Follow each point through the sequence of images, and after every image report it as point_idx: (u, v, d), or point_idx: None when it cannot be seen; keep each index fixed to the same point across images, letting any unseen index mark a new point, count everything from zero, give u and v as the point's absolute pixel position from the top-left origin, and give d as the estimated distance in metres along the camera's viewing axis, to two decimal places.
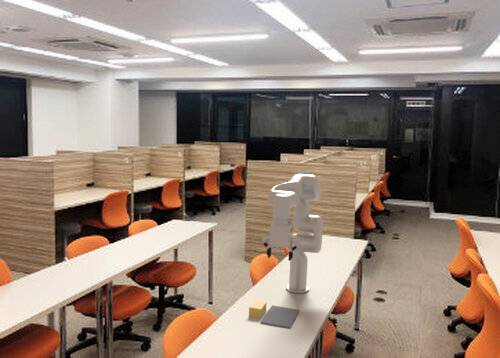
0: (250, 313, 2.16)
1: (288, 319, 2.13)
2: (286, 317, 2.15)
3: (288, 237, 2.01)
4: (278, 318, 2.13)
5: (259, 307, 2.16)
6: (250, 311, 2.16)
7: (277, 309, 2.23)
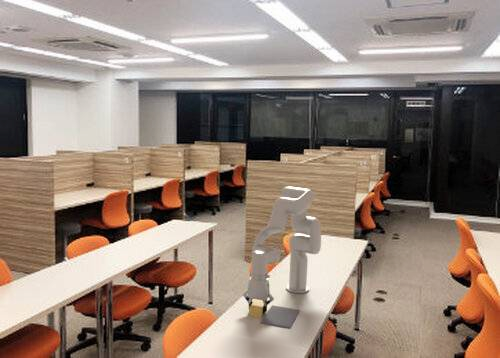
0: (250, 313, 2.16)
1: (288, 319, 2.13)
2: (286, 317, 2.15)
3: (265, 291, 2.15)
4: (278, 318, 2.13)
5: (259, 307, 2.16)
6: (250, 311, 2.16)
7: (277, 309, 2.23)
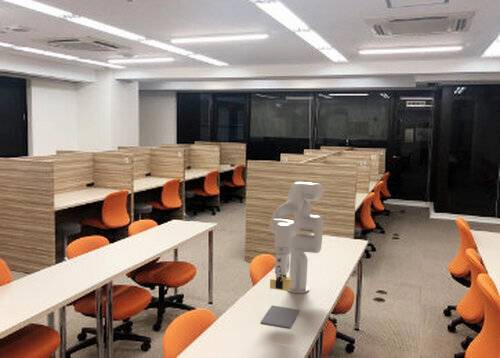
0: None
1: (288, 319, 2.13)
2: (286, 317, 2.15)
3: (275, 264, 2.10)
4: (278, 318, 2.13)
5: (274, 278, 2.13)
6: None
7: (277, 309, 2.23)
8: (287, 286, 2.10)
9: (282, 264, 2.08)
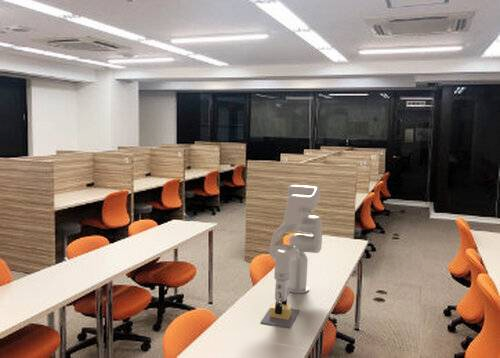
0: None
1: None
2: None
3: (275, 290, 2.11)
4: (278, 318, 2.13)
5: (274, 307, 2.15)
6: None
7: None
8: (287, 315, 2.12)
9: (282, 290, 2.09)
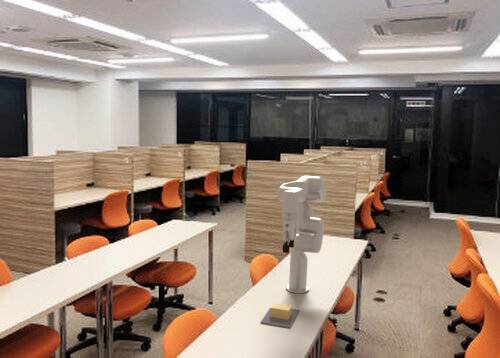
0: None
1: None
2: None
3: (283, 229, 2.17)
4: (278, 318, 2.13)
5: (274, 307, 2.15)
6: None
7: None
8: (287, 315, 2.12)
9: (290, 229, 2.15)
